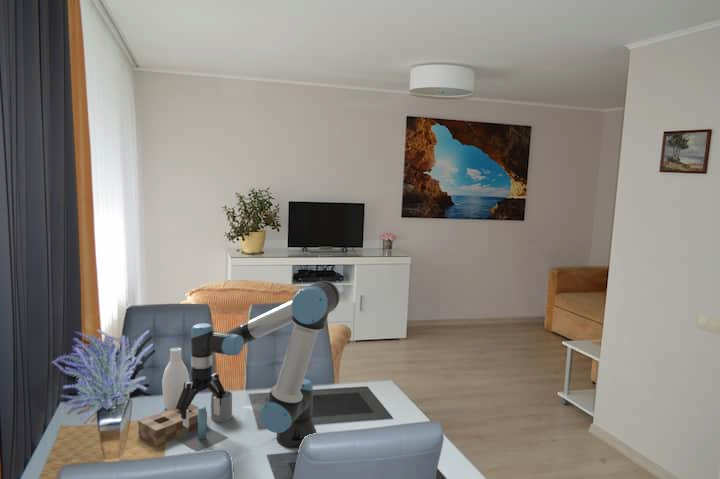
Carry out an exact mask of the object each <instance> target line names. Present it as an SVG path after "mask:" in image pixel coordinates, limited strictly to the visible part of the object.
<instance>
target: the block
mask: <svg viewBox="0 0 720 479" xmlns="http://www.w3.org/2000/svg"><path fill="white" fill-rule="evenodd" d="M198 407H199V406H197V405H195V404H193V403H191V404H190V405H189V407H188V410H189V427H188V428H187V427H185V426H183V419H182V418H181V411H180V410H178V409H176V407H175V408H172V409H170V410H167V409H166V410H164V411H162V412H159V413H156V414H153V415H151V416H148V417H145V418H142V419H140V420H137V421H138V436H139V435H140V436H139V437H141V436H142V437H141V438H143V439H144V438H145V439H144V440H146V441H147V442H149V441H150V443H151V442H152V443H151V444H153V445H154V444H155V446H156V445H157V446H158V445H161V444H164V443H166V442H169V441H171V440H175V439H177V438H179V437H182V436H184V435H187V434H189V433H192V432H194V431H196V430H198ZM207 417H208V411H207V410H206V426H207V425H208V418H207Z"/></svg>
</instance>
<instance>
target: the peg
mask: <svg viewBox="0 0 720 479" xmlns="http://www.w3.org/2000/svg"><path fill="white" fill-rule="evenodd" d="M197 407H198V429H197V430H198V440H205V439H206V427H207V425H206V411H207V407H206V406H203V405H202V406H197Z"/></svg>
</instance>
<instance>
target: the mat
mask: <svg viewBox="0 0 720 479" xmlns="http://www.w3.org/2000/svg"><path fill="white" fill-rule="evenodd" d="M227 439H229V437H228V436H226V435H224V434H223V433H220V432H219V431H217V430H215V429H213V428H210V427H209V426H206V439H205V440H198V429H196V430H193V431H191V432H188V433H186V434H183V435H181V436H179V437H176V438H174V440H175V441H177V442H178V443H180V444H182V445H184V446H186V447H187V448H189V449H190V450H191V449H192V450H193V451H194V452H197V451H199V452H201V451H203V450H205V449H207V448H209V447H212V446H214V445H216V444H219V443H221V442H223V441H225V440H227Z"/></svg>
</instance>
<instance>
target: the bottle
mask: <svg viewBox="0 0 720 479" xmlns="http://www.w3.org/2000/svg"><path fill="white" fill-rule="evenodd" d="M169 353H170V354H169V362H168V363H167V365H166V366H165V368H164V372H163V375H162V379H161V380H162V381H161V385H162V386H161V388H162V398H163V404H164V405H163V406H164V409H166V411H167V410H170V409H172V408H175V407H176V406H177V403H178V401H179V398H180V396H181V393H182V391H183V388H184V382H187V383H188V382H191V380H190V374H189V372H188V367H187V366H186V365H185V363H184V361H183V360H182V348H181V347H172V348H170V349H169Z"/></svg>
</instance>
